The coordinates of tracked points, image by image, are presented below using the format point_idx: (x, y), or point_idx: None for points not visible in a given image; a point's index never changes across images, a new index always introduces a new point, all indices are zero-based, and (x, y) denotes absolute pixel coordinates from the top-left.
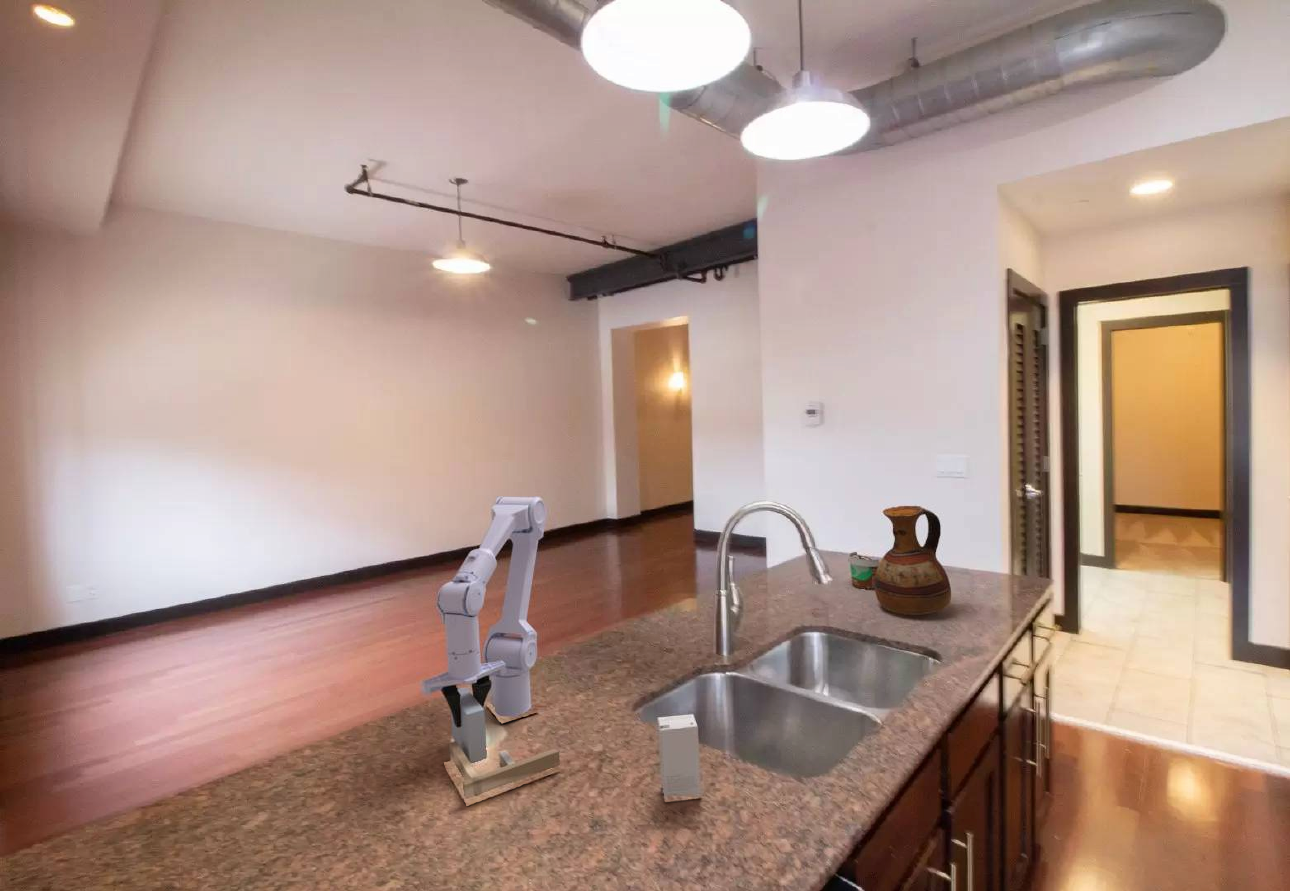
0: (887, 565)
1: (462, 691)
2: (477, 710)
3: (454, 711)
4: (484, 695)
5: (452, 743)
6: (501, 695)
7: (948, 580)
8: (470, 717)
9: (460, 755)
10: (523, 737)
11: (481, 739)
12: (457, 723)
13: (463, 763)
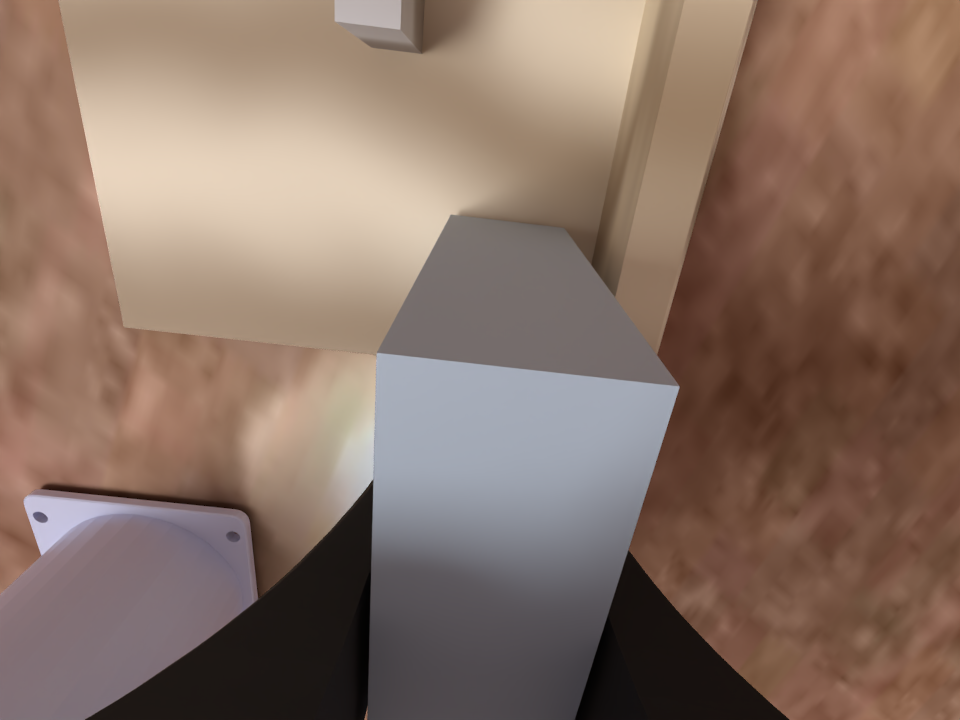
0: None
1: None
2: (478, 400)
3: (671, 608)
4: (241, 655)
5: None
6: (144, 671)
7: None
8: (606, 355)
9: (667, 223)
10: (171, 333)
11: (475, 248)
12: None
13: (718, 79)
